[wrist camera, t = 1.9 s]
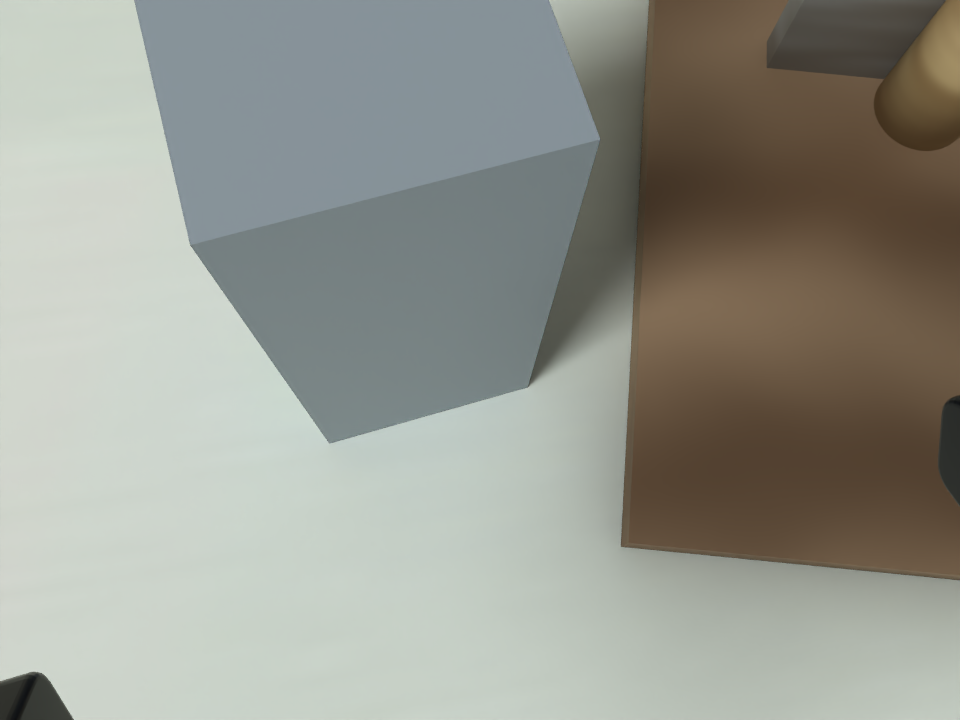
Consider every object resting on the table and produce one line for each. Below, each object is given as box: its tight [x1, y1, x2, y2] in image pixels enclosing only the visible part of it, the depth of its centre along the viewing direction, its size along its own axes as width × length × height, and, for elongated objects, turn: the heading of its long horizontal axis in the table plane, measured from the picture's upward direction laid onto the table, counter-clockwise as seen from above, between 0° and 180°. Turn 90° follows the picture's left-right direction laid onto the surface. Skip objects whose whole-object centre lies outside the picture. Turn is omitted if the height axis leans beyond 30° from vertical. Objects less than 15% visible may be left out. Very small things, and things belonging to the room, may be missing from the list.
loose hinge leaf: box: [134, 0, 600, 443], centre depth 17 cm, size 6×5×12 cm
